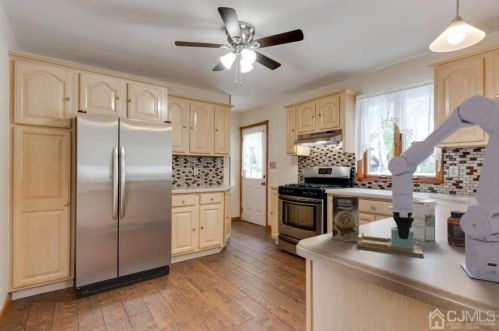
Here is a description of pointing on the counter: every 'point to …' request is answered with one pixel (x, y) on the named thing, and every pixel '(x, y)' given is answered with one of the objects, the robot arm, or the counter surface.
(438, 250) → the counter surface
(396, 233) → the teal block
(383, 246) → the slide board
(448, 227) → the supplement bottle
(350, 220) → the cookie box
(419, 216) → the syrup box
